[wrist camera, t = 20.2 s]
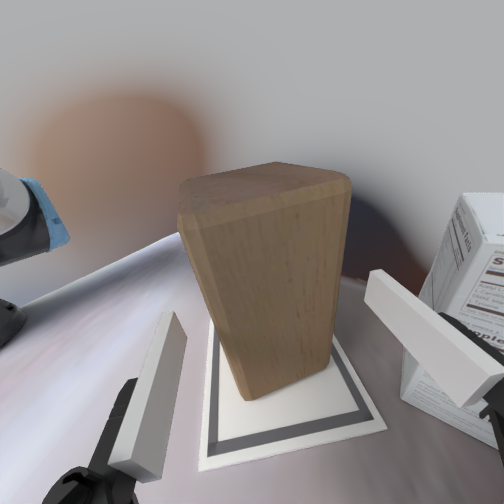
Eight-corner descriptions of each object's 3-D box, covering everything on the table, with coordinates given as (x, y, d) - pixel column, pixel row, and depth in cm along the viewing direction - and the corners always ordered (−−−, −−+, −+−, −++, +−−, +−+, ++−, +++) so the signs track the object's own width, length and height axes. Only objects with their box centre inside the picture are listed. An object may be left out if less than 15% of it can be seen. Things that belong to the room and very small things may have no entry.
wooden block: (289, 304, 29) (281, 159, 18) (332, 369, 20) (363, 169, 10) (224, 327, 27) (175, 179, 16) (244, 409, 18) (168, 213, 8)
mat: (211, 317, 29) (210, 315, 29) (311, 297, 30) (312, 295, 30) (199, 472, 16) (197, 471, 15) (386, 430, 16) (388, 427, 16)
